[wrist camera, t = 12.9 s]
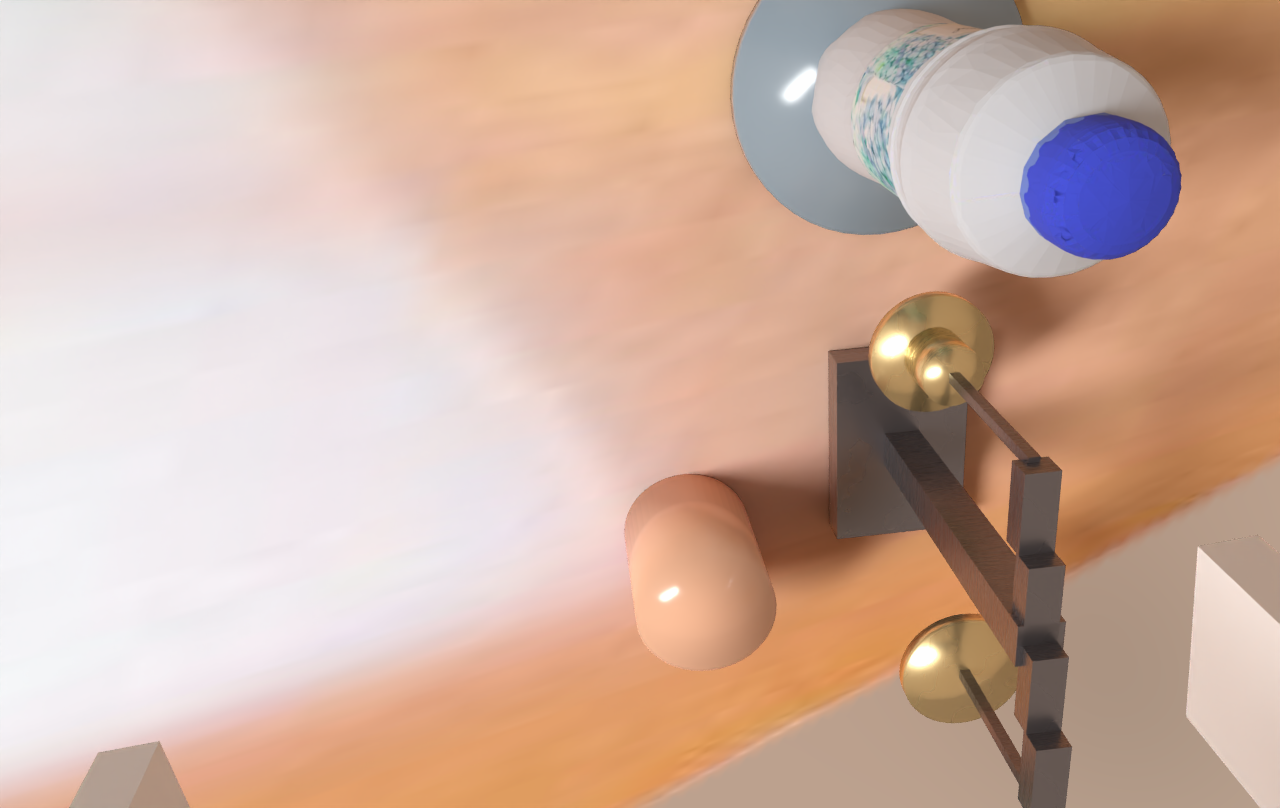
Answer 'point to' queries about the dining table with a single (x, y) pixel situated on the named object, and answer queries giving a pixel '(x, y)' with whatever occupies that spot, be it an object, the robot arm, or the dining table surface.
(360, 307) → the dining table surface
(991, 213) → the bottle
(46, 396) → the dining table surface
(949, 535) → the balance
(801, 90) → the dish
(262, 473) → the dining table surface
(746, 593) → the peach rounded capsule
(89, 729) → the dining table surface
